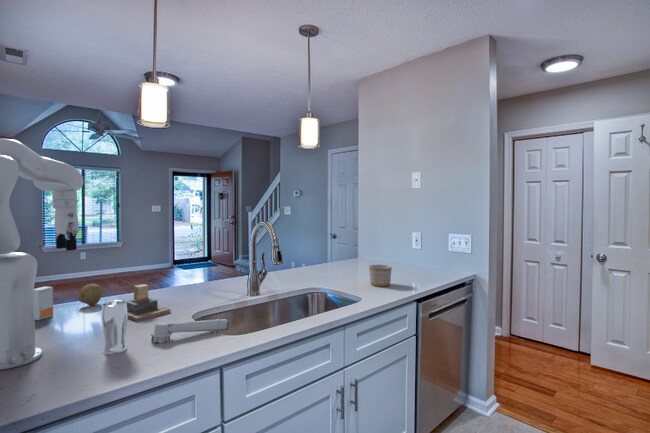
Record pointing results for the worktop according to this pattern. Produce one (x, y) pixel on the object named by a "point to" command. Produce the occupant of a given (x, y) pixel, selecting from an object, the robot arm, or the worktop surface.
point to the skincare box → (43, 302)
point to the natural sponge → (90, 294)
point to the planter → (380, 275)
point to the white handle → (186, 328)
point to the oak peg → (140, 293)
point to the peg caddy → (145, 310)
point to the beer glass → (114, 326)
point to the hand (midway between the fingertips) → (66, 249)
